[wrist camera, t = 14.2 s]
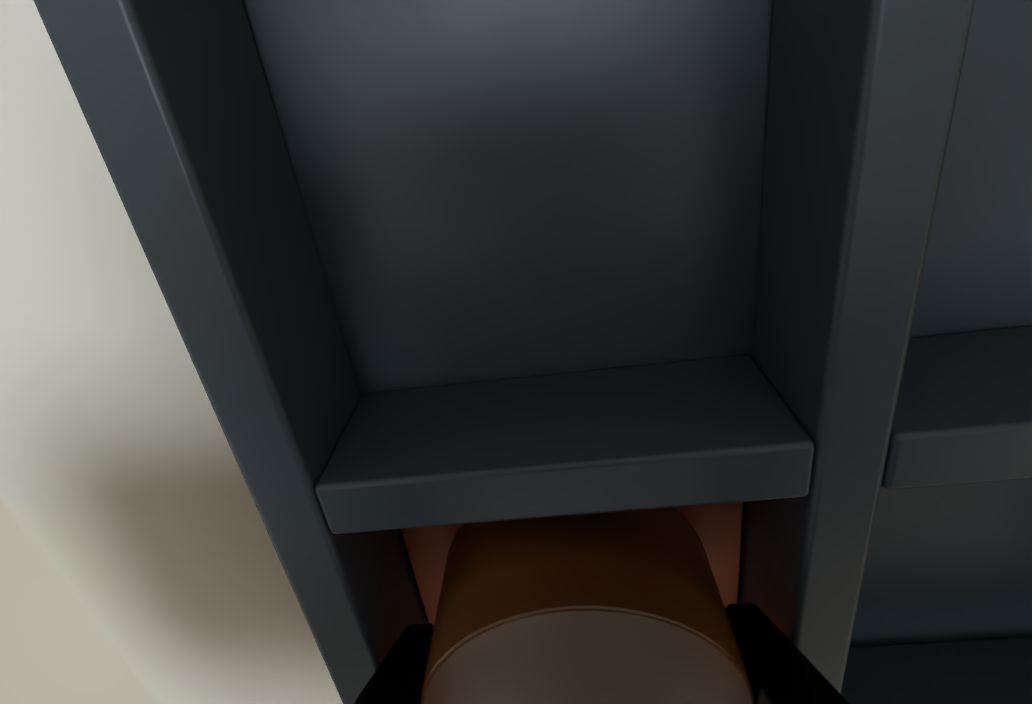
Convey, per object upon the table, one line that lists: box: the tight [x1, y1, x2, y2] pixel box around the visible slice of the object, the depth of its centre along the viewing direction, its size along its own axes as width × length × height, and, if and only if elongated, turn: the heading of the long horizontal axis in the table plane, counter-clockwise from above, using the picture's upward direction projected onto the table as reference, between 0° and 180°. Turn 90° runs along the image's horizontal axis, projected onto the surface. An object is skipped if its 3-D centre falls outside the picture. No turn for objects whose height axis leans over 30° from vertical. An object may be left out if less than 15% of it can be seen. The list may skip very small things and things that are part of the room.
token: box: [420, 507, 754, 704], centre depth 9 cm, size 4×4×2 cm
